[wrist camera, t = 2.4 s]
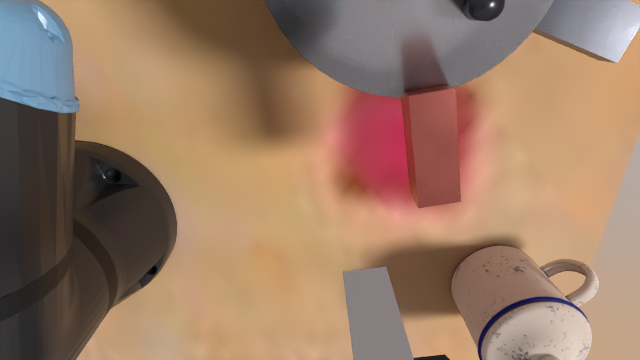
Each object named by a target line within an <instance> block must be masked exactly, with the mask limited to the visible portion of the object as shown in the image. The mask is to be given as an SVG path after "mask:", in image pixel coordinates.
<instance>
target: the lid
mask: <svg viewBox="0 0 640 360" xmlns="http://www.w3.org/2000/svg"><path fill="white" fill-rule="evenodd" d="M265 1H266V3H267V6H268V8H269V10H270V11H271V13H272V15H273V17H274V19H275V21H276V23H277V24H278V26H279V27H280V29H281V30H282V32H283V33H284V34H285V36H286V37H287V39H288V40H289V41H290V43H291V44H292V45H293V46H294V47H295V48H296V49H297V50H298V51H299V52H300V54H301V55H302V56H303V57H304V58H305V59H307V60H308V61H309V62H310V63H311V64H313V65H314V66H315V67H316V68H317V69H319V70H320V71H321V72H323V73H325V74H326V75H328V76H329V77H331V78H333V79H334V80H336V81H338V82H340V83H342V84H345V85H347V86H349V87H351V88H353V89H357V90H360V91H363V92H367V93H370V94H375V95H382V96H388V97H401V102H402V113H403V123H404V134H405V144H406V155H407V165H408V176H409V186H410V193H411V195H412V197H413V199H414V201H415V203H416V205H417V206H418V208H423V207H429V206H436V205H442V204H449V203H455V202H461V196H460V173H459V151H458V128H457V105H456V88H455V87H457V86H460V85H463V84H465V83H467V82H469V81H471V80H473V79H475V78H477V77H479V76H481V75H483V74H484V73H486V72H487V71H488V70H490V69H491V68H493V67H494V66H496V65H497V64H499V63H500V62H501V61H503V60H504V59H505V58H506V57H507V56H508V55H510V54H511V53H512V52H513V51H514V50H516V49H517V48H518V47H519V45H520V44H521V43H522V42H523V41H524V40H525V39H526V38H527V37H528V36H529V35H530V34H531V33H532V31H533V30H534V29H535V28H536V26H537V25H538V24H539V22H540V21H541V20H542V18H543V17H544V16H545V14H546V13H547V11H548V9H549V8H550V6H551V4H552V3H553V1H554V0H265Z"/></svg>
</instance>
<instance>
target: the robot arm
mask: <svg viewBox="0 0 640 360" xmlns="http://www.w3.org/2000/svg"><path fill="white" fill-rule="evenodd" d="M79 107H80V105H79V100H78V98H77V97H76V96H75V85H74V69H73V46H72V39H71V36H70V33H69V30H68V28H67V27H66V25H65V23H64V22H63V20H62V19H61V18H60V17H59V15H58V14H57V13H56V12H55V11H53V10H52V9H51V8H50V7H48V6H47V5H46V4H44V3H43V2H41V1H39V0H0V360H76V359H77V357H78V356H79V354H80V353H81V351H82V350H83V348H84V347H85V345H86V344H87V342H88V341H89V340H90V338H91V337H92V335H93V334H94V332H95V331H96V329H97V328H98V326H99V325H100V323H101V322H102V320H103V319H104V317H105V316H106V315H107V313H108V312H109V310H110V309H111V308H113V307H114V306H116V305H117V304H119V303H120V302H122V301H123V300H125V299H126V298H128V297H129V296H131V295H132V294H134V293H135V292H137V291H138V290H140V289H142V288H143V287H144V286H146V285H147V284H148V283H149V282H151V281H152V280H153V279H154V278H155V277H156V276H157V274H158V273H159V272H160V271H161V269H162V268H163V266H164V264H165V263H166V261H167V259H168V258H169V256H170V254H171V252H172V250H173V248H174V245H175V241H176V236H177V220H176V214H175V210H174V207H173V204H172V202H171V199H170V197H169V195H168V193H167V192H166V190H165V189H164V187H163V185H162V184H161V183H160V182H159V180H158V179H157V178H156V177H155V176H154V175H153V174H152V173H151V172H150V171H149V170H148V169H147V168H146V167H145V166H144V165H142V164H141V163H140V162H138V161H137V160H135V159H134V158H132V157H131V156H129V155H127V154H125V153H123V152H121V151H119V150H117V149H114V148H111V147H109V146H105V145H102V144H97V143H92V142H82V141H75V121H76V112H78V111H79ZM343 277H344V285H345V293H346V302H347V310H348V318H349V326H350V334H351V342H352V351H353V359H354V360H450V359H449V358H448V357H447V356H446V355H436V356H427V357H419V358H413V355H412V352H411V349H410V345H409V342H408V339H407V335H406V332H405V328H404V325H403V322H402V318H401V315H400V312H399V308H398V305H397V301H396V298H395V295H394V291H393V288H392V284H391V281H390V278H389V274H388V271H387V268H386V267H378V268H370V269H361V270H353V271H345V272H343Z"/></svg>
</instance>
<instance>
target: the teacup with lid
mask: <svg viewBox="0 0 640 360" xmlns="http://www.w3.org/2000/svg"><path fill="white" fill-rule="evenodd" d="M563 271H574V272H578V273H581V274H583V275H585V276H586V279H585V282H584V284H583V285H582V286H581V287H580V288H579V289H577V290H576V291H574V292H572V293H571V294H569V295H567V296H564V295H563V294H562V293H561V292H560V290H559V289H558V288H557V287H556V286H555V285H554V284H553V282H552V281H551V280H550V279H549V277H551V276H553V275H555V274H557V273H560V272H563ZM598 286H599V281H598V278H597V276H596V274H595V273H594V271H593V270H592V269H591V268H590V267H589V266H587V265H586V264H584V263H582V262H579V261H576V260H571V259H559V260H555V261H552V262H550V263H548V264H546V265H544V266H542V267H540V268H539V267H538V266H537V264H536V263H535V262H534V261H533V260H532V259H531V258H530V257H529V256H528V255H527V254H526V253H524V252H523V251H521V250H519V249H517V248H513V247H509V246H491V247H487V248H484V249H481V250H478V251H476V252H474V253H473V254H471V255H470V256H468V257H467V258H466V259H465V260H463V261H462V262H461V264H460V265H459V266H458V268H457V269H456V271H455V273H454V275H453V278H452V282H451V292H452V296H453V299H454V301H455V303H456V305H457V307H458V309H459V311H460V313H461V315H462V317H463V319H464V321H465V323H466V326H467V328H468V330H469V332H470V334H471V336H472V338H473V340H474V342H475V344H476V346H477V348H478V355H479V359H480V360H584V359H585V358H586V356H587V354H588V352H589V349H590V346H591V340H592V334H591V328H590V325H589V322H588V320H587V317H586V316H585V315H584V313H583V312H582V311H581V310H580V309H579V308H578V306H580V305H582V304H583V303H585V302H587V301H588V300H590V299H591V298H592V297H593V296H594V295H595V293H596V292H597V289H598Z"/></svg>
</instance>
